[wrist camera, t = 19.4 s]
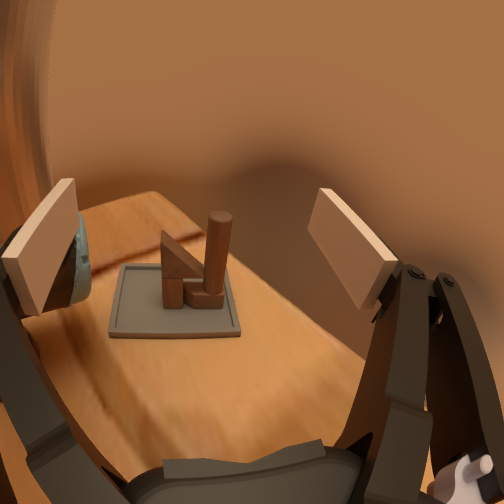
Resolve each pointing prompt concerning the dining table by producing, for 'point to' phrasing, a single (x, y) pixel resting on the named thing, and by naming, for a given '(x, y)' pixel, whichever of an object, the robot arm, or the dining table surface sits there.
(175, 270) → the wooden block
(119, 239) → the dining table surface
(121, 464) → the dining table surface
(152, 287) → the slate tray
